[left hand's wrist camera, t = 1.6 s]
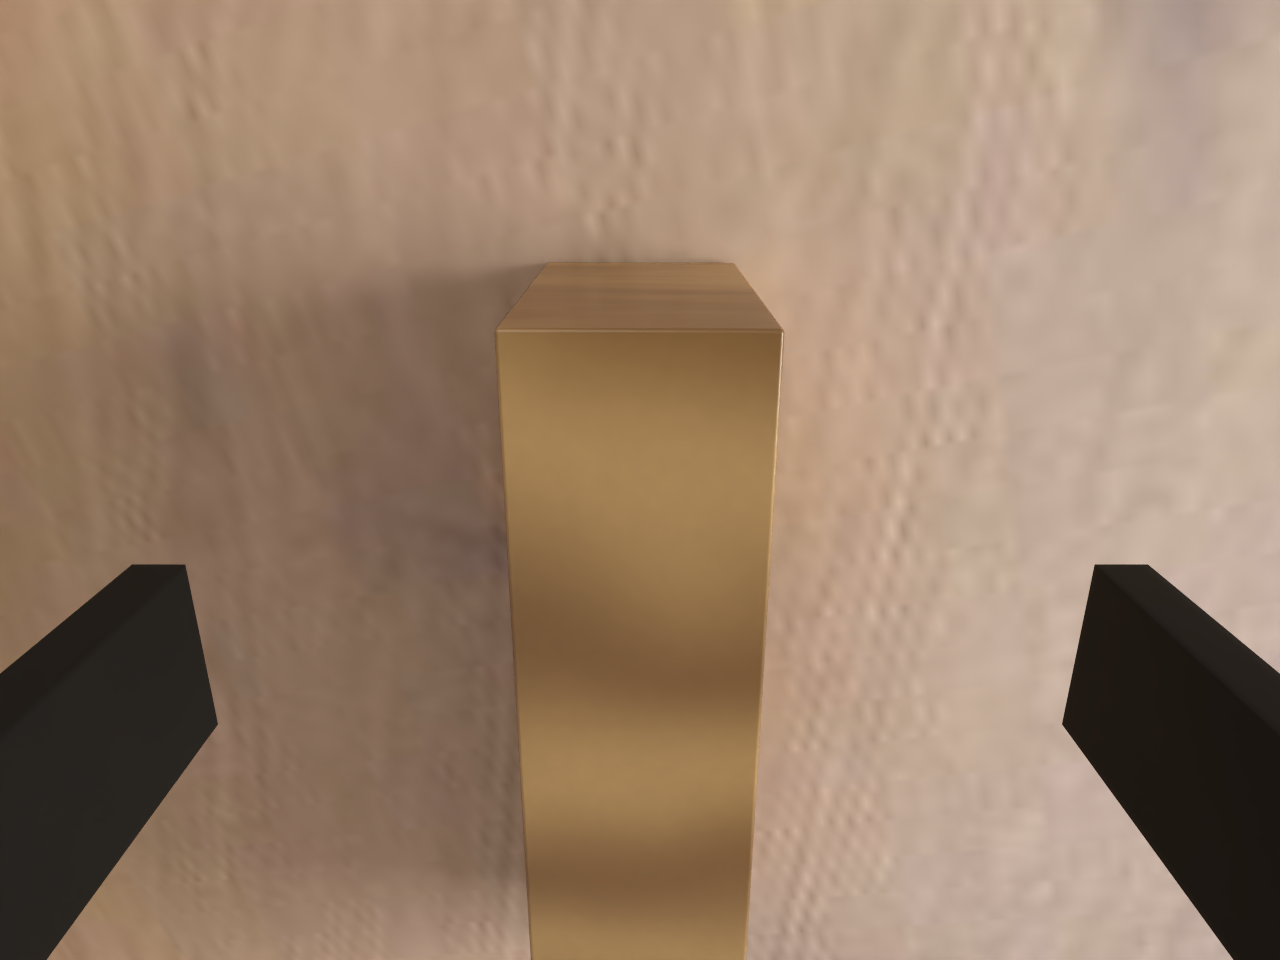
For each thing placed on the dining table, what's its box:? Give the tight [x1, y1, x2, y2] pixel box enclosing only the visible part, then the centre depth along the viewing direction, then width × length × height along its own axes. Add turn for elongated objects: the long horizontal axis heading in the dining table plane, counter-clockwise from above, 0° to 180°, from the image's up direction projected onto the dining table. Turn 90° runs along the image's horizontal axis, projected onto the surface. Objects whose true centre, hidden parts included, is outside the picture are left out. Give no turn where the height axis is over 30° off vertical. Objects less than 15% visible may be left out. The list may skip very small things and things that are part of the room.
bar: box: [495, 263, 784, 960], centre depth 23 cm, size 22×5×9 cm, turn 0°
